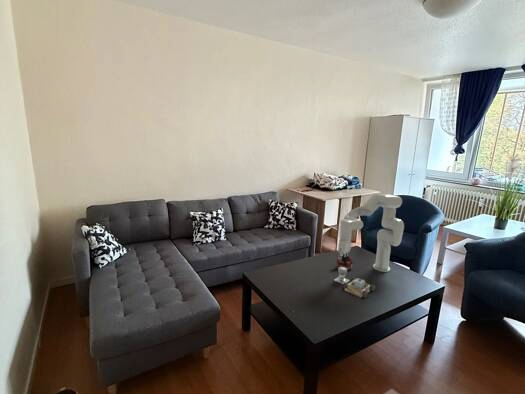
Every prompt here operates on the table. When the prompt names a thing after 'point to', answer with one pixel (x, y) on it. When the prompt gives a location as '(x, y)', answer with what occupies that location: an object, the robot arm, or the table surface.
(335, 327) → the table surface
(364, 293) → the birch chassis
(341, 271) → the wheel hub
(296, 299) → the table surface
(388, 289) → the table surface
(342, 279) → the grey square pedestal base
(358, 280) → the block
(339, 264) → the toy fire truck
